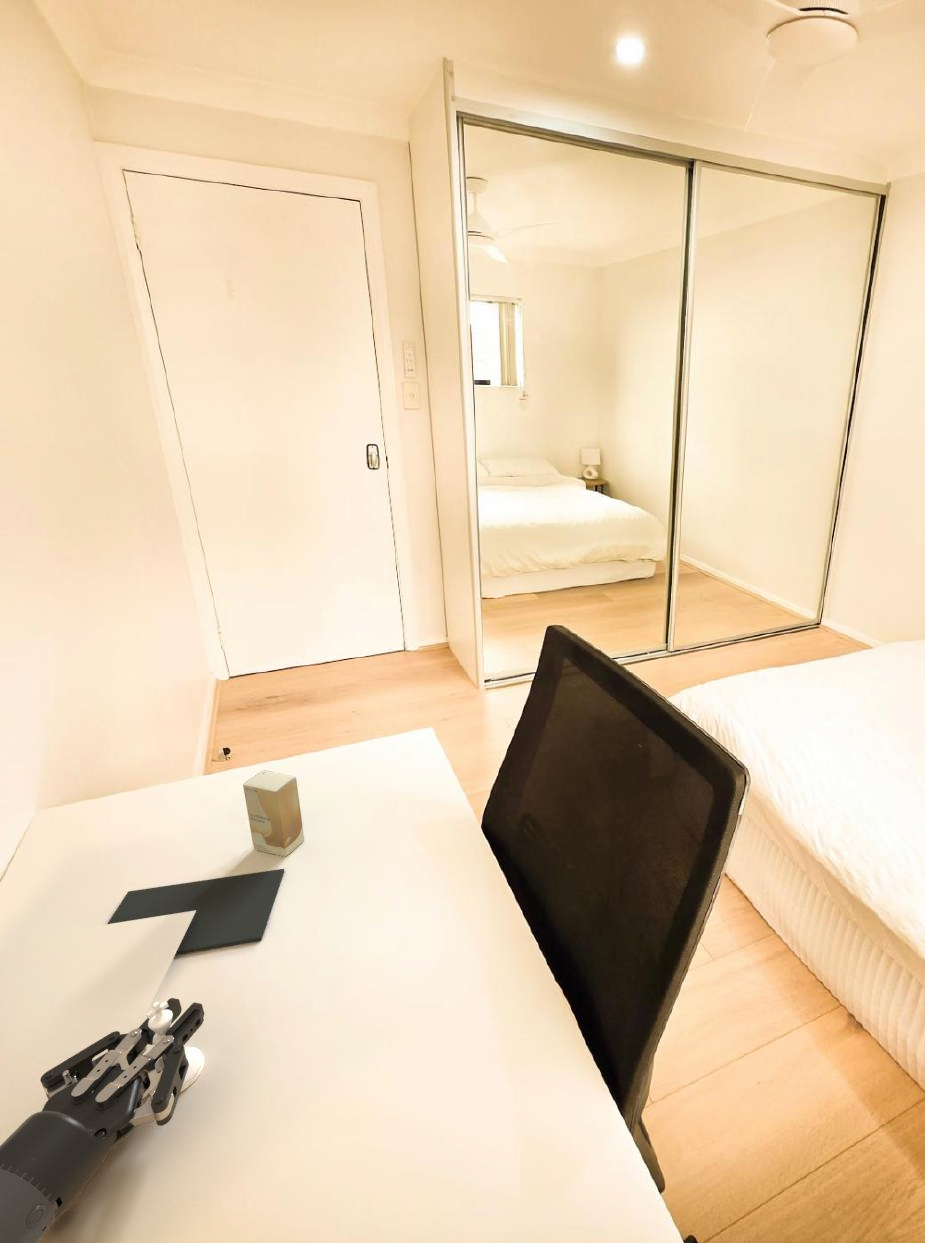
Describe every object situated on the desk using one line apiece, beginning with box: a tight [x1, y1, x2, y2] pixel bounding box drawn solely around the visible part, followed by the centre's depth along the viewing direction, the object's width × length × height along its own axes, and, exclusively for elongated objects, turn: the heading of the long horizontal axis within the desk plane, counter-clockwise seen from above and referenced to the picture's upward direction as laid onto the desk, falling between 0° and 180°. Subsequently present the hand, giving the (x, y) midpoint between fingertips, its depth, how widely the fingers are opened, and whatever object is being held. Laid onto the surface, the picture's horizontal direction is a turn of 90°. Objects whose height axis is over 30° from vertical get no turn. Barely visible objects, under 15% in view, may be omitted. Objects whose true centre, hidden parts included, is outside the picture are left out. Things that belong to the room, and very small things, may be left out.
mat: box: [107, 868, 285, 956], centre depth 83 cm, size 20×13×1 cm, turn 105°
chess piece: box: [146, 1000, 205, 1095], centre depth 62 cm, size 5×5×10 cm
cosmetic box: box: [242, 769, 305, 857], centre depth 95 cm, size 6×4×12 cm
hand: (188, 1006), depth 65 cm, fingers closed on chess piece
